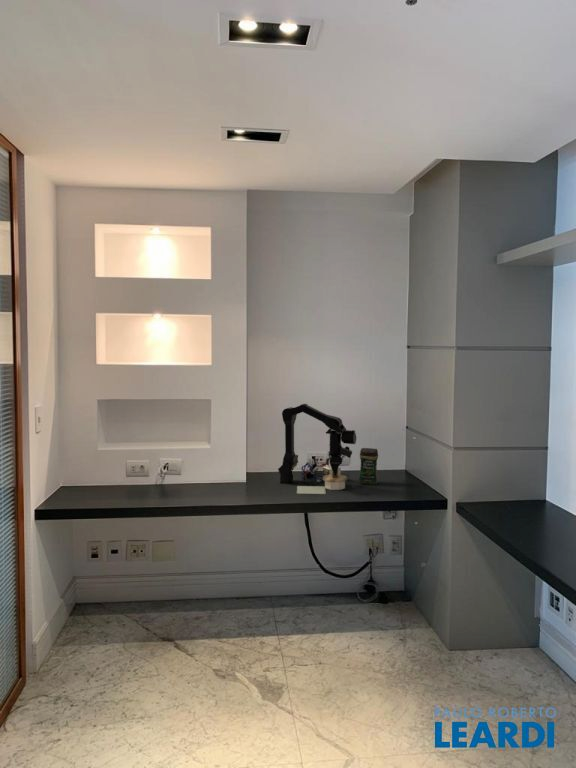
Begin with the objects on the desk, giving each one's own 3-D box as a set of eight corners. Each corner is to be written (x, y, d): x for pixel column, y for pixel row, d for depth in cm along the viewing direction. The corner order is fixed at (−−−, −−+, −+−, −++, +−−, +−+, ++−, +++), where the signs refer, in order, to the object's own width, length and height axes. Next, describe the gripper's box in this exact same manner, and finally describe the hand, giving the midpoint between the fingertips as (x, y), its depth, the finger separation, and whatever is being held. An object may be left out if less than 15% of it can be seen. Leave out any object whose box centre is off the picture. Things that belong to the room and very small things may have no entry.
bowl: (325, 490, 288) (325, 481, 287) (324, 485, 298) (324, 477, 297) (345, 490, 287) (345, 482, 287) (344, 485, 297) (344, 477, 297)
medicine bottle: (322, 479, 310) (322, 457, 309) (334, 478, 313) (334, 456, 312) (329, 482, 304) (329, 460, 303) (340, 481, 307) (341, 459, 306)
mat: (296, 494, 280) (296, 493, 280) (297, 487, 294) (297, 486, 294) (325, 494, 280) (325, 493, 280) (324, 487, 294) (324, 486, 294)
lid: (323, 482, 286) (323, 471, 286) (322, 476, 298) (322, 466, 298) (347, 482, 286) (347, 472, 286) (346, 476, 298) (346, 466, 298)
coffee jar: (358, 484, 300) (358, 449, 299) (360, 480, 308) (360, 446, 307) (376, 485, 298) (377, 450, 296) (378, 482, 305) (379, 447, 304)
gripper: (352, 446, 281) (352, 477, 282) (350, 439, 300) (349, 469, 301) (329, 446, 282) (329, 477, 283) (328, 439, 300) (328, 469, 301)
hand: (334, 473), depth 292 cm, fingers open, 9 cm apart
